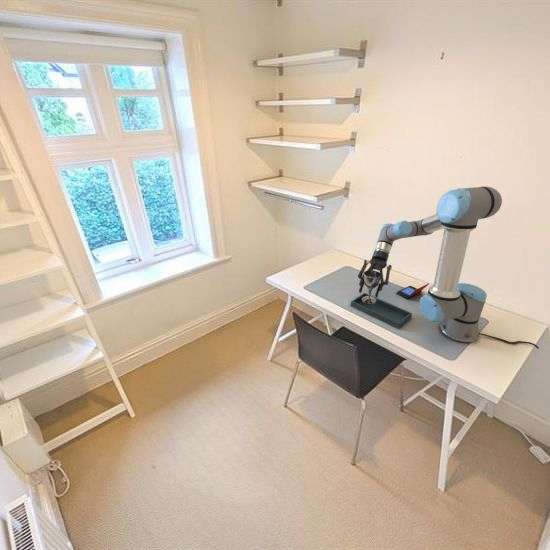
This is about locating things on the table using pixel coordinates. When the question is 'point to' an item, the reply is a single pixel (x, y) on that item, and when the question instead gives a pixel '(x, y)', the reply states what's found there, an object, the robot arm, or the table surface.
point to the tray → (382, 311)
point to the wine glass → (371, 284)
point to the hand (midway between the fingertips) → (367, 294)
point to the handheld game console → (410, 291)
